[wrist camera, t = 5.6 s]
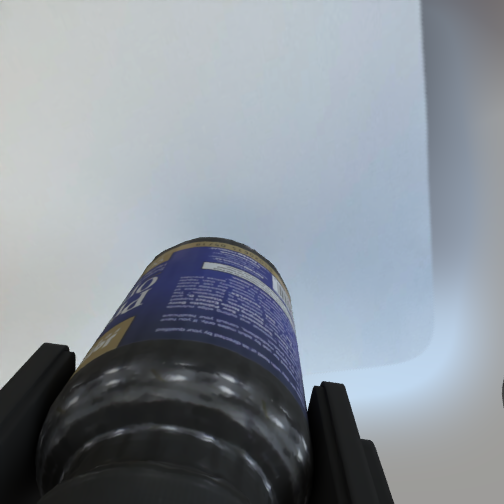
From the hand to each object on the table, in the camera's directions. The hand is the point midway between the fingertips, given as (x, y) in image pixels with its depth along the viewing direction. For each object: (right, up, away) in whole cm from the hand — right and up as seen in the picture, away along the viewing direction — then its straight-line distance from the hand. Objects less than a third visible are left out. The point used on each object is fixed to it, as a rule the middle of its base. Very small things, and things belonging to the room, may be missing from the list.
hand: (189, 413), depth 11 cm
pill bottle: (0, +2, +6) cm, 6 cm away
